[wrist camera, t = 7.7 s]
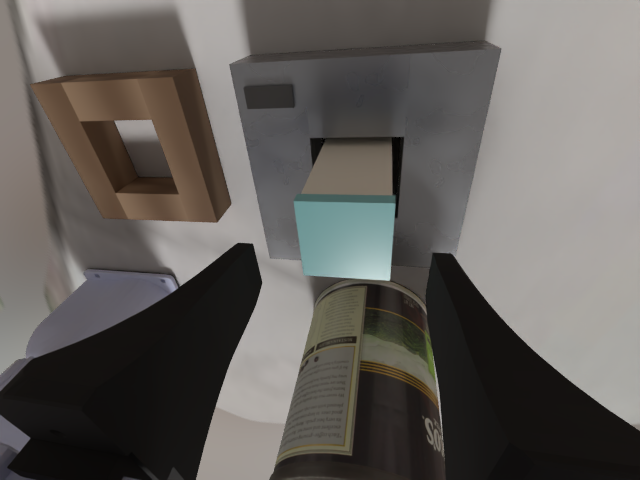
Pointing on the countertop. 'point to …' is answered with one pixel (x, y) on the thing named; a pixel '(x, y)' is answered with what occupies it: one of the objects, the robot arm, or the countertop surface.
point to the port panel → (370, 131)
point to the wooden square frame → (110, 153)
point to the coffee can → (364, 390)
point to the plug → (348, 210)
